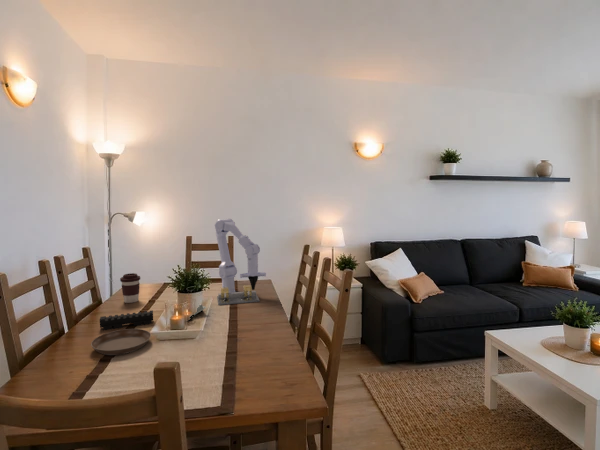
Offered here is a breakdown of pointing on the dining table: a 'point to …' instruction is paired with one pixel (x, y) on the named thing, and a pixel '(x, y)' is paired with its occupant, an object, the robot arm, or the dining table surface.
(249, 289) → the sliding leg
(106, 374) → the dining table surface
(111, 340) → the plant saucer
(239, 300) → the bolt plate
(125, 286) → the coffee cup
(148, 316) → the rail mount
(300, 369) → the dining table surface
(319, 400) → the dining table surface
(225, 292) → the beam with fixed leg
